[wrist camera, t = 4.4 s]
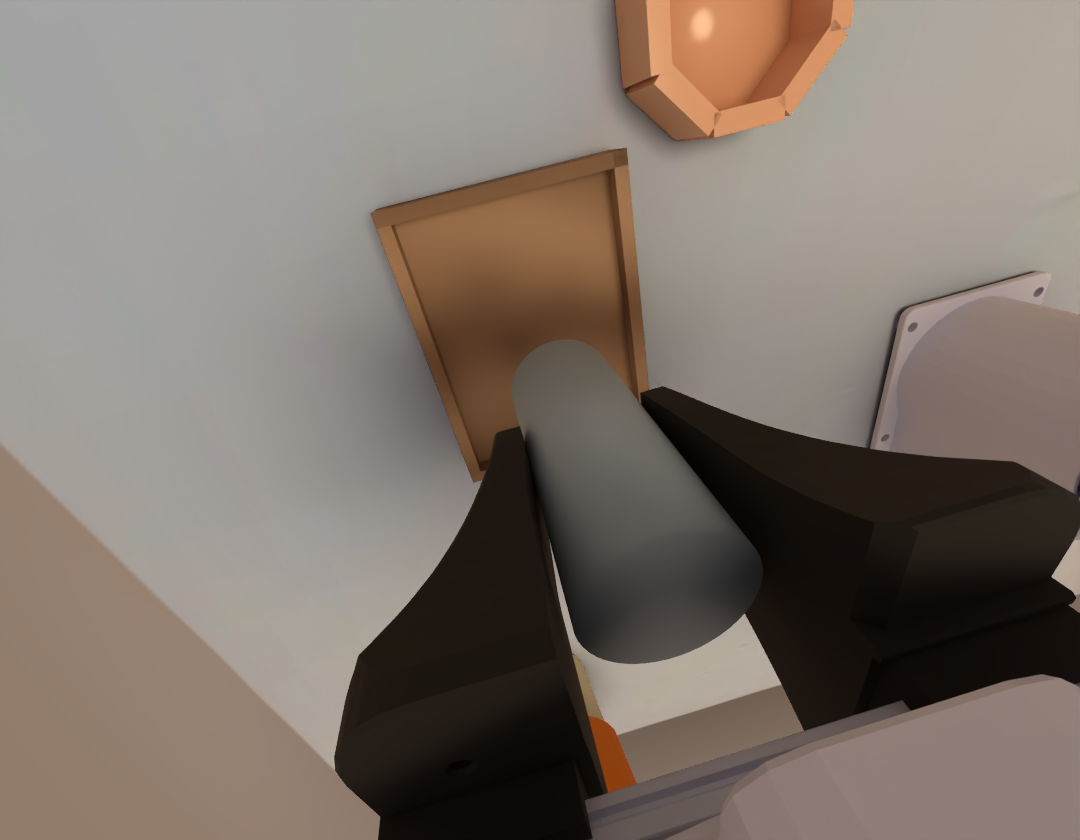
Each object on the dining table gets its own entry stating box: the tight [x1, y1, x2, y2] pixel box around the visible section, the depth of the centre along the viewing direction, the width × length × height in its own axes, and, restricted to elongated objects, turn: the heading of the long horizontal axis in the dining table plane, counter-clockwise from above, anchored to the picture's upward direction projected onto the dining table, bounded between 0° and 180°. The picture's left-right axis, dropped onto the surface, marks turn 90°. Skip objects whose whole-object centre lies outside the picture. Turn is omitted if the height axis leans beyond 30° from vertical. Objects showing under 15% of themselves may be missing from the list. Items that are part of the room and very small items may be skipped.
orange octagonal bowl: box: [615, 0, 854, 141], centre depth 14 cm, size 7×7×3 cm
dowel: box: [511, 340, 763, 664], centre depth 10 cm, size 3×3×8 cm
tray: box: [371, 148, 649, 483], centre depth 19 cm, size 12×9×2 cm
